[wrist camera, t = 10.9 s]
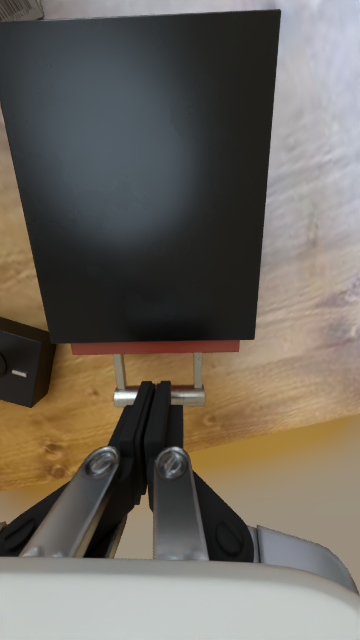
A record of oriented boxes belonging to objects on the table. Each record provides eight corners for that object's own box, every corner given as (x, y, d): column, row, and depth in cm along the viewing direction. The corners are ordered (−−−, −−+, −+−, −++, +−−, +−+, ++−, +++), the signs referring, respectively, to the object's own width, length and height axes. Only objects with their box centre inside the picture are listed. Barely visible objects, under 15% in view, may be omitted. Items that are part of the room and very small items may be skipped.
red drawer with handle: (217, 368, 20) (235, 414, 14) (115, 370, 20) (83, 416, 14) (223, 173, 16) (254, 98, 9) (91, 177, 16) (26, 107, 9)
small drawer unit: (223, 311, 19) (254, 340, 11) (106, 314, 20) (50, 344, 11) (229, 147, 16) (282, 6, 7) (85, 152, 16) (-19, 20, 8)
